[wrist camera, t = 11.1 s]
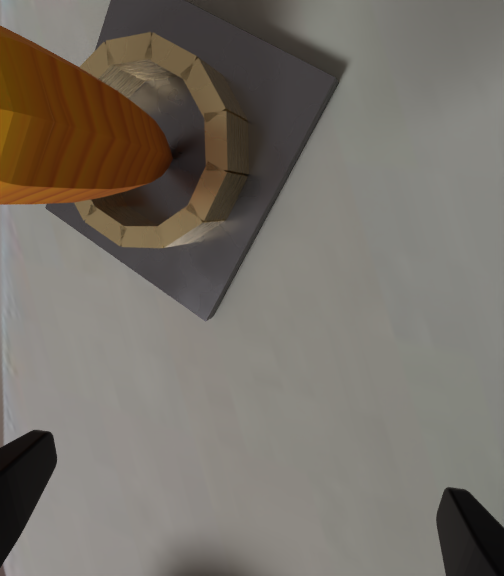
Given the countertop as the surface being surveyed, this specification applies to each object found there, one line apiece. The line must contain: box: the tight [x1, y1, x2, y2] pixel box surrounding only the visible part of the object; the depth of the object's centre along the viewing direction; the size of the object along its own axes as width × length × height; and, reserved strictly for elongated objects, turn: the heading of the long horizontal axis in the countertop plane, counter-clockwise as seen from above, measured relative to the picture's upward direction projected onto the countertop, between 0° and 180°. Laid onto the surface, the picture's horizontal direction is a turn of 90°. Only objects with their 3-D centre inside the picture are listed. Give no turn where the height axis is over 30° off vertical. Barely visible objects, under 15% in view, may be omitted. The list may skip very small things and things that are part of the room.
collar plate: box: [46, 0, 338, 321], centre depth 19 cm, size 12×13×3 cm
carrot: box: [0, 26, 173, 204], centre depth 13 cm, size 5×5×15 cm
